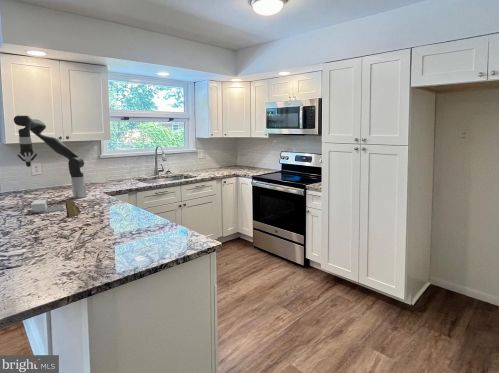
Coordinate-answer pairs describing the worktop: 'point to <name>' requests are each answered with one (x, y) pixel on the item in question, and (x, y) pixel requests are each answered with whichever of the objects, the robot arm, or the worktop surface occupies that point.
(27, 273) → the worktop surface
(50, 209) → the mat
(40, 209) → the skincare box
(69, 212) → the rock
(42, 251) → the worktop surface
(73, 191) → the robot arm
